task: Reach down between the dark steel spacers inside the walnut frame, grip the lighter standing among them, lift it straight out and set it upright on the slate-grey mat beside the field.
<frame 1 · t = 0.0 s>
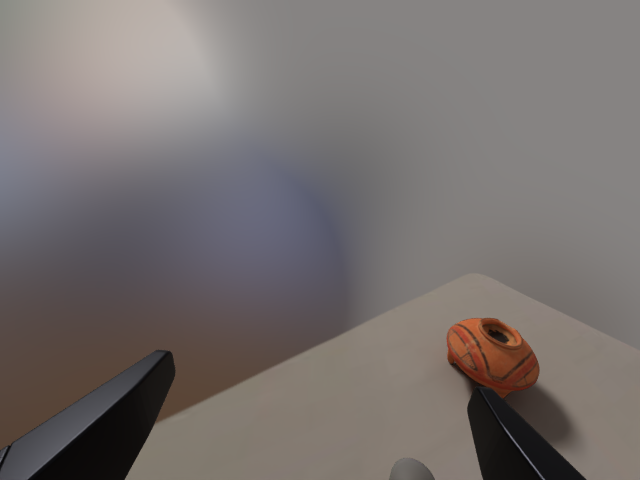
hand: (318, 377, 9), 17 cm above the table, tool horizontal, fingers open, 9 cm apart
pot: (479, 377, 30), on the table
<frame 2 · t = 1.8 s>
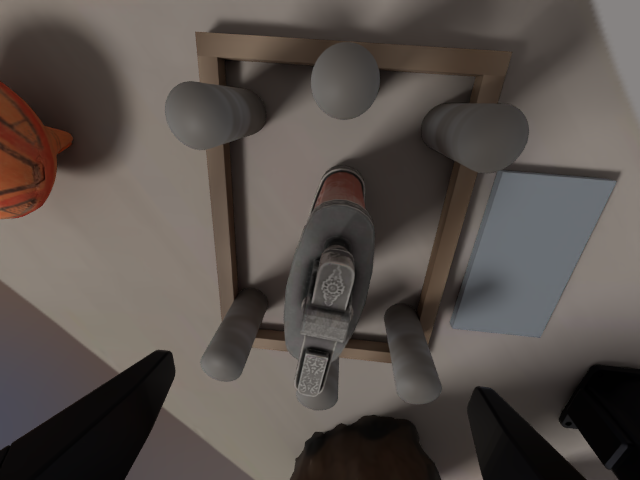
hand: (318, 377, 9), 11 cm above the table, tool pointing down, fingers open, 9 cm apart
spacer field: (333, 228, 19), on the table
mat: (518, 260, 19), on the table
pot: (35, 139, 19), on the table
lighter: (333, 226, 19), resting in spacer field
owl: (361, 457, 29), on the table
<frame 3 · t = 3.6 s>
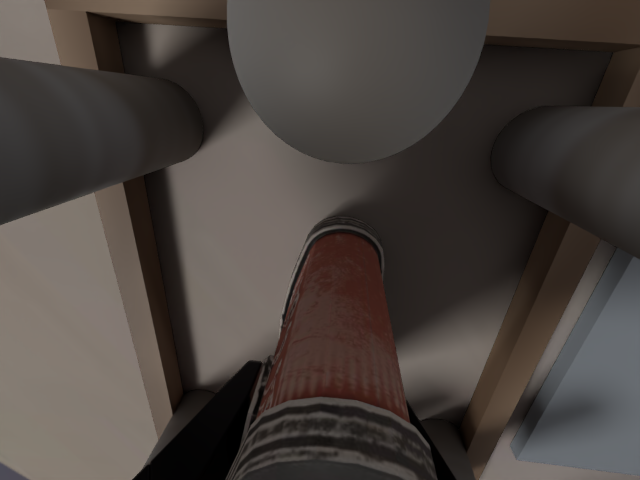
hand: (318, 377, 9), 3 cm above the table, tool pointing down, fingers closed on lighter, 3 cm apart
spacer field: (327, 312, 12), on the table
mat: (638, 367, 11), on the table
lighter: (327, 309, 12), resting in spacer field, touching gripper
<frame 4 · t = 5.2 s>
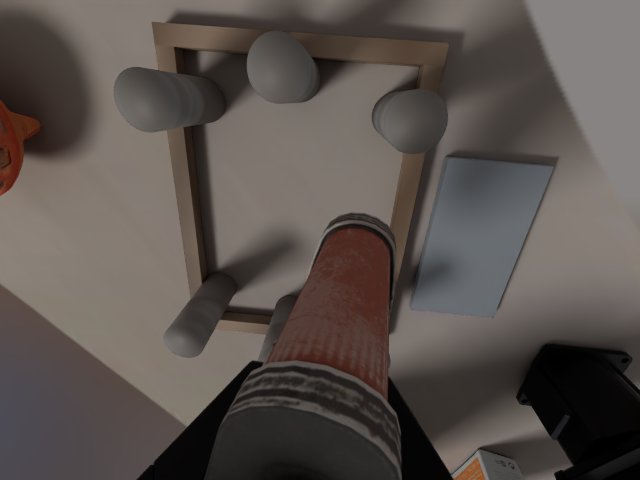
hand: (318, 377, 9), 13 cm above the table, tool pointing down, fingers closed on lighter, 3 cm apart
skincare box 2: (478, 466, 31), on the table
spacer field: (294, 213, 20), on the table
mat: (470, 243, 20), on the table
pot: (5, 126, 19), on the table
lighter: (346, 303, 12), point 9 cm above the table, touching gripper
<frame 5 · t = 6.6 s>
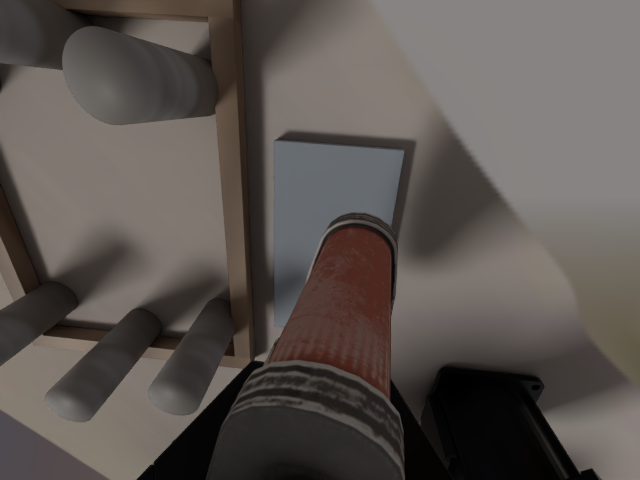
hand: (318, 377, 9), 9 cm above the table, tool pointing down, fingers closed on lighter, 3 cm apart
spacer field: (117, 211, 17), on the table
mat: (329, 247, 17), on the table
lighter: (347, 302, 12), point 5 cm above the table, touching gripper
when the fingers open (5 cm above the table, at t = 7.9 s): lighter stays where it is, resting on mat.
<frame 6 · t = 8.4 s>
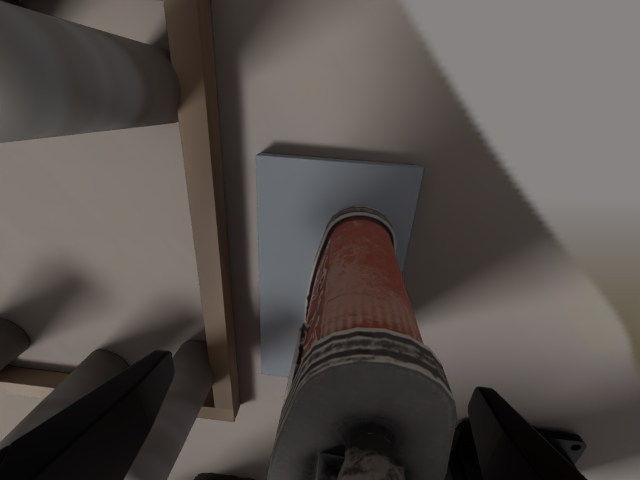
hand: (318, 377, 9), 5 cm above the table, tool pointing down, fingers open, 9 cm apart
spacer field: (67, 238, 14), on the table
mat: (328, 283, 13), on the table
lighter: (346, 291, 13), resting on mat
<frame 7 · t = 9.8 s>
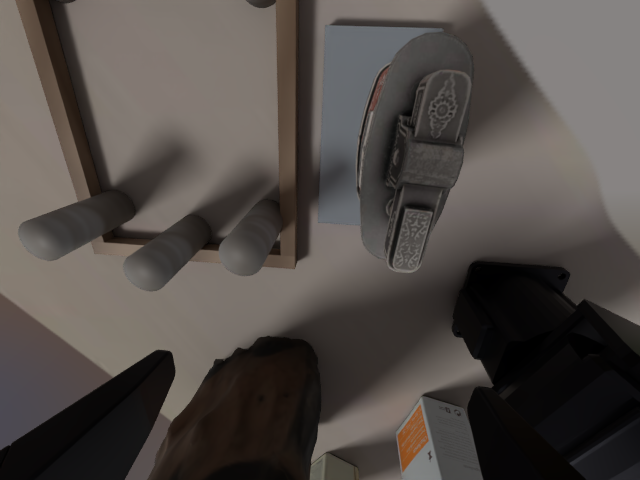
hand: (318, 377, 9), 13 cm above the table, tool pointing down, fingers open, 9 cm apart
skincare box 2: (426, 418, 28), on the table
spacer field: (177, 111, 18), on the table
mat: (371, 138, 18), on the table
lighter: (385, 140, 18), resting on mat
skincare box: (327, 468, 33), on the table
owl: (268, 387, 28), on the table
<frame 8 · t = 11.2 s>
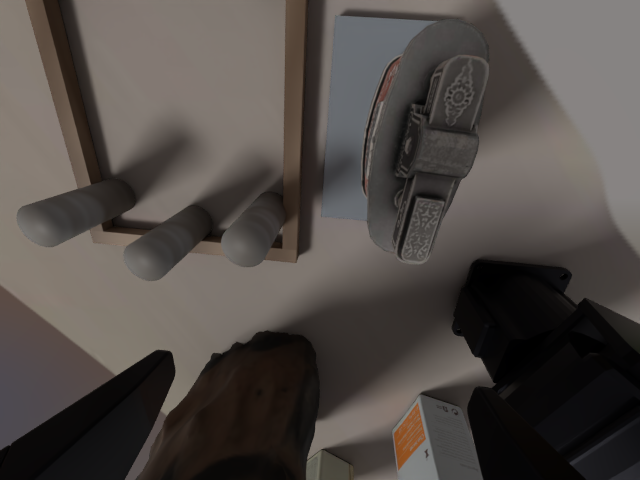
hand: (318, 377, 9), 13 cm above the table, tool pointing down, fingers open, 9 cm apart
skincare box 2: (423, 416, 28), on the table
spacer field: (182, 99, 18), on the table
mat: (377, 132, 18), on the table
lighter: (392, 134, 18), resting on mat
skincare box: (321, 466, 33), on the table
owl: (265, 383, 28), on the table
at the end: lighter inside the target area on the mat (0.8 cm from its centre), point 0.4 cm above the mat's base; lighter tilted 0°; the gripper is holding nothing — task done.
